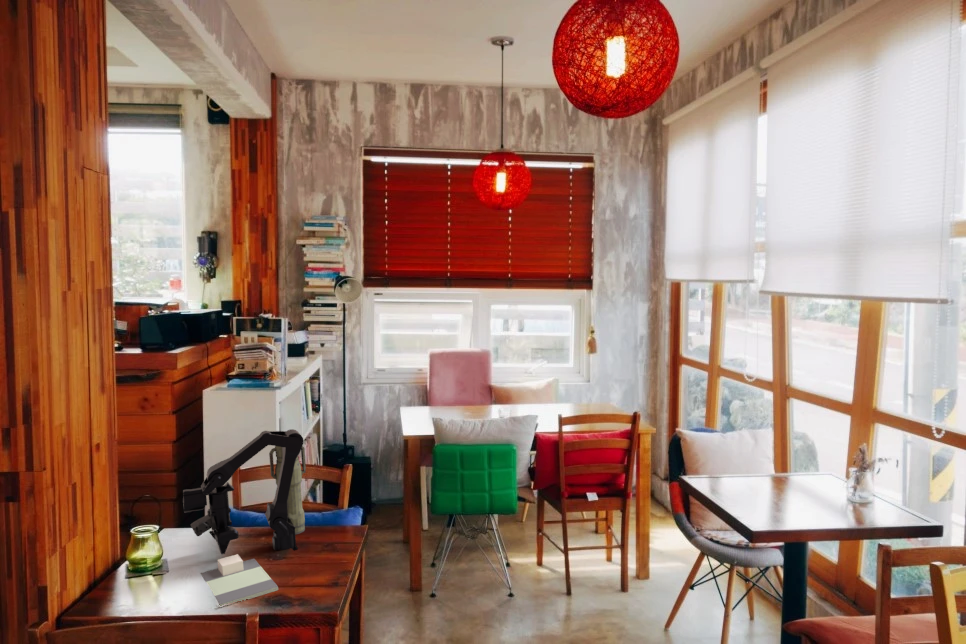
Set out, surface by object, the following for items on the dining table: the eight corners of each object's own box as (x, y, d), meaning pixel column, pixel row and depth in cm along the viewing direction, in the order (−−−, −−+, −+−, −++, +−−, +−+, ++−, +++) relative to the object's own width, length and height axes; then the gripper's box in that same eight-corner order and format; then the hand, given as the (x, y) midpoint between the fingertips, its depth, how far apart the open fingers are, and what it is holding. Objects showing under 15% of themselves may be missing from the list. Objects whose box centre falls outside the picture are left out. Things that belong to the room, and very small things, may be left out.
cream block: (238, 563, 211) (237, 554, 211) (243, 570, 206) (242, 560, 206) (218, 569, 208) (217, 559, 208) (223, 576, 203) (222, 566, 203)
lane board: (254, 561, 215) (254, 558, 215) (278, 590, 195) (278, 586, 195) (201, 576, 206) (200, 573, 206) (220, 607, 186) (220, 604, 186)
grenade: (271, 531, 239) (264, 434, 236) (304, 522, 246) (298, 428, 243) (279, 539, 232) (272, 438, 229) (312, 530, 238) (306, 432, 235)
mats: (254, 558, 215) (254, 558, 215) (278, 586, 195) (278, 586, 195) (200, 573, 206) (200, 573, 206) (220, 604, 186) (220, 604, 186)
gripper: (185, 504, 217) (189, 551, 218) (198, 521, 201) (202, 571, 203) (222, 496, 223) (225, 541, 224) (237, 512, 207) (240, 561, 209)
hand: (222, 553), depth 215 cm, fingers closed
